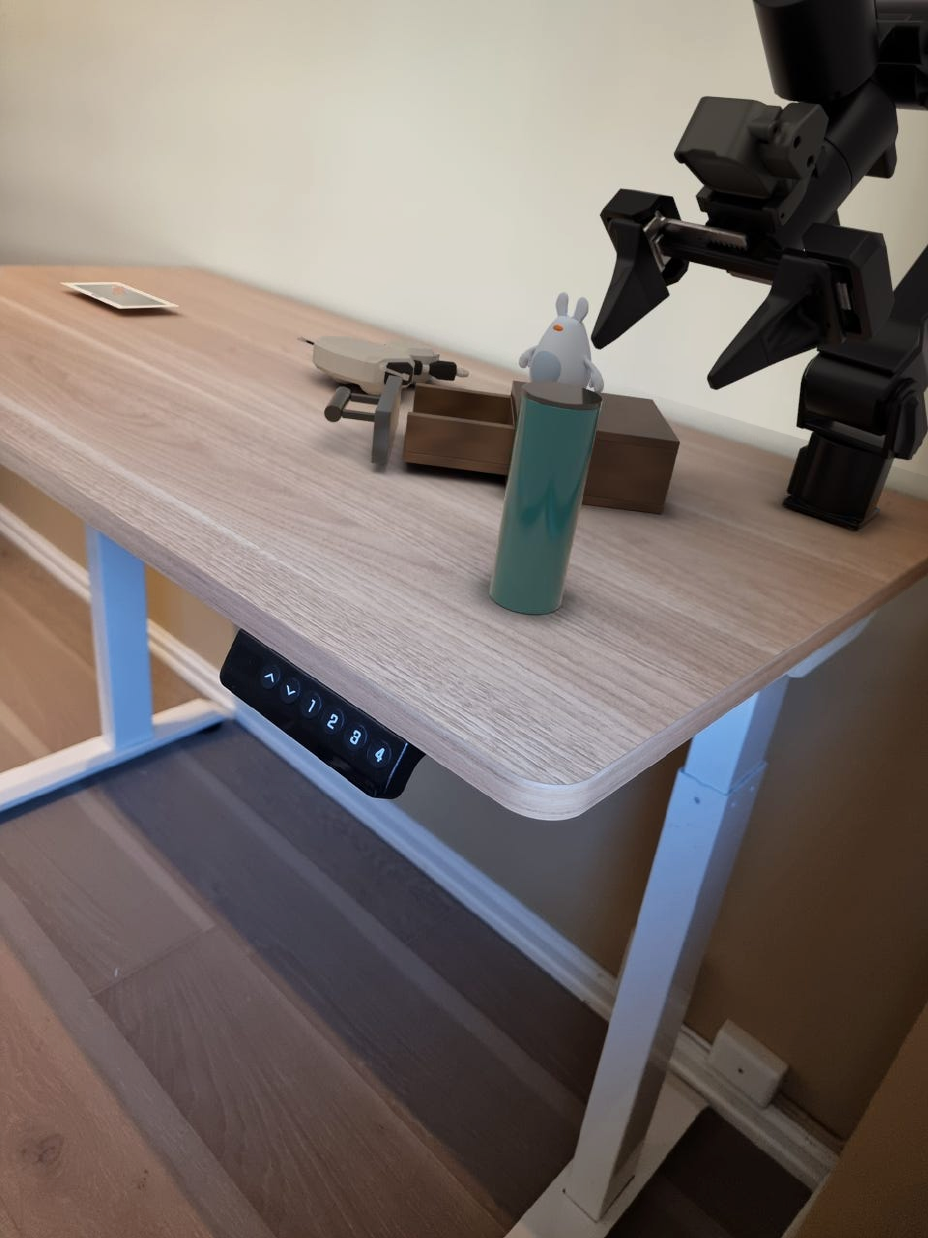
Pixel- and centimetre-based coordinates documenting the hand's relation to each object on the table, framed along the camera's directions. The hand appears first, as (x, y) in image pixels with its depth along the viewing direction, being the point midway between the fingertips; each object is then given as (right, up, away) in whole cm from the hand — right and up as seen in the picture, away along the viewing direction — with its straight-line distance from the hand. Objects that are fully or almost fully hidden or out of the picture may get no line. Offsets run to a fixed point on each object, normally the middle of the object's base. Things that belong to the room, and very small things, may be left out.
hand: (649, 363), depth 53 cm
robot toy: (-19, +9, +40) cm, 45 cm away
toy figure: (-2, +5, +38) cm, 38 cm away
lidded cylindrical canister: (-7, -14, +1) cm, 16 cm away
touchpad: (-54, +24, +58) cm, 83 cm away
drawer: (-15, -1, +21) cm, 26 cm away
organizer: (-2, -3, +22) cm, 22 cm away
